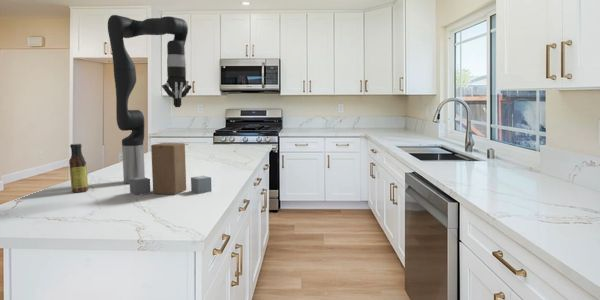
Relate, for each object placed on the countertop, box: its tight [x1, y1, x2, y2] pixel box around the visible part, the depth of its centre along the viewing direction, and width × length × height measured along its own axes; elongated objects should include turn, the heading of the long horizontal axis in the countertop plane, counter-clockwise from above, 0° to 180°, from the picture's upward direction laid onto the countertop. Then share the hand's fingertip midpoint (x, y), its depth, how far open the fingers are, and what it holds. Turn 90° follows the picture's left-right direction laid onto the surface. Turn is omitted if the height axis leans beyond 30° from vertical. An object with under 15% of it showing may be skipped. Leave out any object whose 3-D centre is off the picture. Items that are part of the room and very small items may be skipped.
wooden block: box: [150, 142, 187, 196], centre depth 175 cm, size 10×10×20 cm
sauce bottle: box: [68, 143, 89, 193], centre depth 177 cm, size 6×6×20 cm
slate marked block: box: [190, 175, 212, 194], centre depth 177 cm, size 6×6×6 cm
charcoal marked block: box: [129, 176, 151, 196], centre depth 174 cm, size 6×6×6 cm
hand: (177, 107), depth 183 cm, fingers closed
